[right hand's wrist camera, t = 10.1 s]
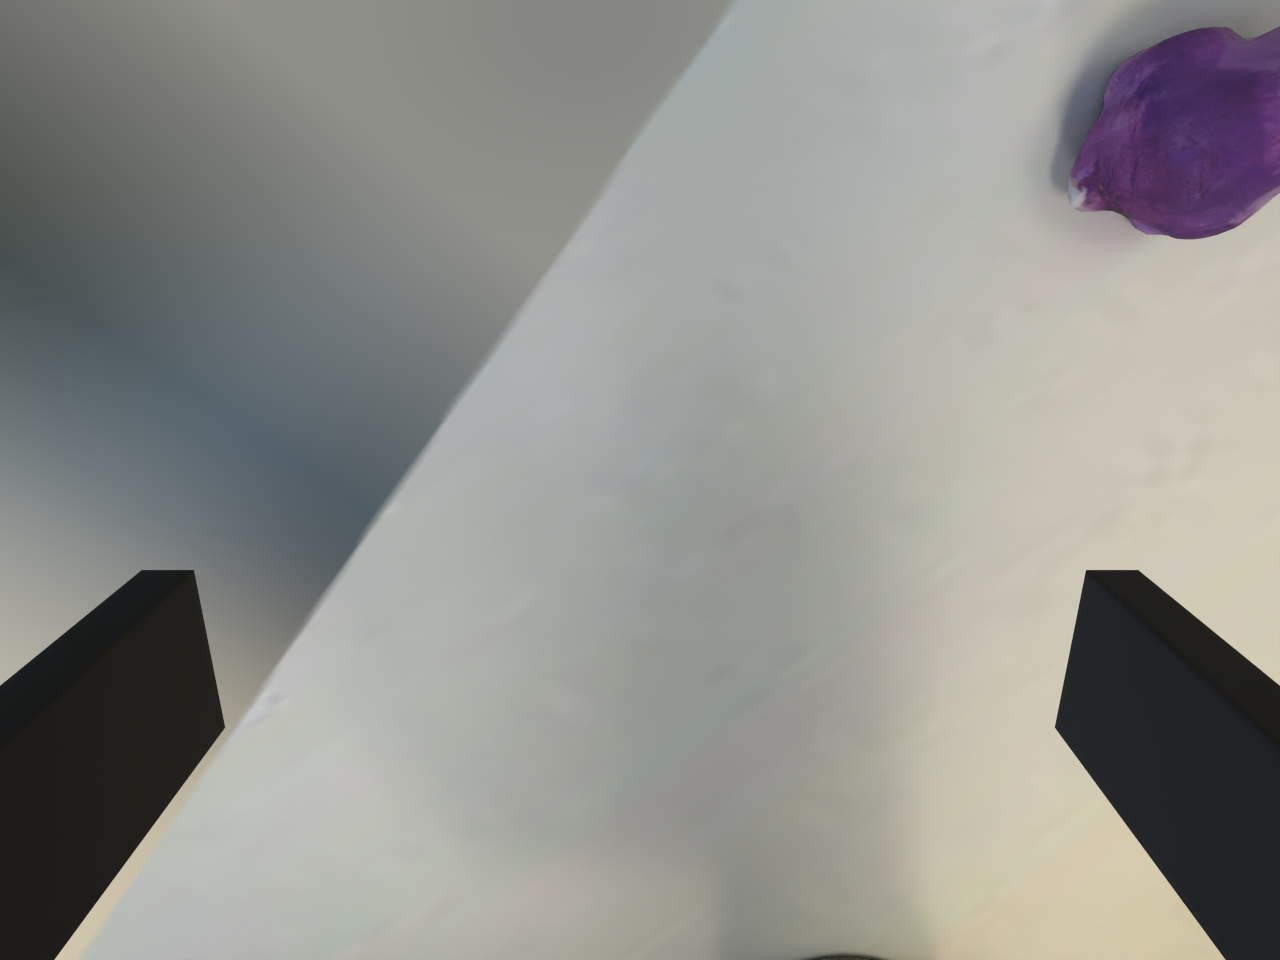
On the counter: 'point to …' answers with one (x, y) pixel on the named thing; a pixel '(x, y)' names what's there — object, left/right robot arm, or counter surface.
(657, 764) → the counter surface
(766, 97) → the counter surface
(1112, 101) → the figurine
